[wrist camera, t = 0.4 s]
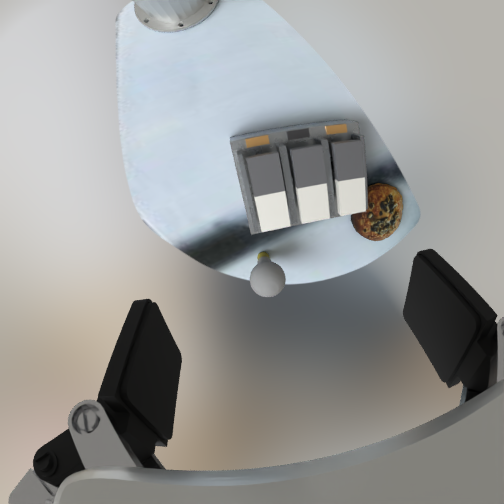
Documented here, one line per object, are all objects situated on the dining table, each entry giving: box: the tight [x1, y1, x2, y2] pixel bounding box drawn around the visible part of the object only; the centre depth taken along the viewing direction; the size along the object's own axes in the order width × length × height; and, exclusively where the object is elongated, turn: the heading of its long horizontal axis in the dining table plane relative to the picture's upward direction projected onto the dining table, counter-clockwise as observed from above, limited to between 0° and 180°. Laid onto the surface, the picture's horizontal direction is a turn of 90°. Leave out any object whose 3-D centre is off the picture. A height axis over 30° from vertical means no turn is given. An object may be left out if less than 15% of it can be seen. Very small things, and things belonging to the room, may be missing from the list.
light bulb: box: [250, 252, 285, 297], centre depth 44 cm, size 6×6×10 cm
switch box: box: [230, 119, 368, 234], centre depth 38 cm, size 14×18×8 cm
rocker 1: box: [246, 151, 291, 232], centre depth 34 cm, size 10×4×1 cm, turn 12°
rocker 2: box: [290, 144, 330, 224], centre depth 34 cm, size 10×4×1 cm, turn 12°
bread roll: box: [351, 183, 403, 241], centre depth 44 cm, size 11×11×5 cm
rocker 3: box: [331, 139, 366, 216], centre depth 34 cm, size 10×4×1 cm, turn 11°
